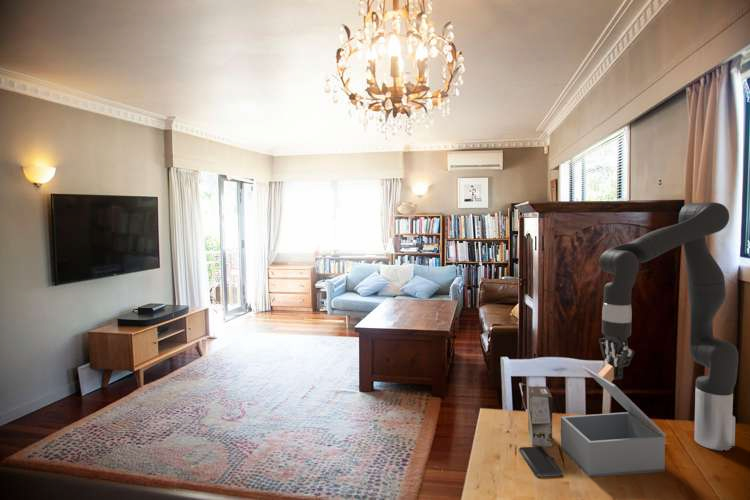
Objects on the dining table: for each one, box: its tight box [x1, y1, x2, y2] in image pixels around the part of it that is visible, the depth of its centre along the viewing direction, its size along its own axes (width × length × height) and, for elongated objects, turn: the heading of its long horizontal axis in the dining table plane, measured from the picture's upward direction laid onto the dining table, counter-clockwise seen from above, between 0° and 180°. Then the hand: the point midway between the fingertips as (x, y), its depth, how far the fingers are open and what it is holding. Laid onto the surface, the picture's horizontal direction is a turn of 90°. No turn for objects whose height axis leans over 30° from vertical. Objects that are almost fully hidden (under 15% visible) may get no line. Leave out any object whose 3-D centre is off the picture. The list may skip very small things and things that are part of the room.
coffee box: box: [527, 385, 553, 447], centre depth 144 cm, size 9×6×16 cm
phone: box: [518, 445, 564, 479], centre depth 132 cm, size 8×1×15 cm
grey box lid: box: [582, 363, 667, 437], centre depth 131 cm, size 22×16×5 cm
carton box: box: [560, 411, 666, 478], centre depth 132 cm, size 22×16×10 cm
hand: (614, 376), depth 130 cm, fingers closed on grey box lid, 2 cm apart
